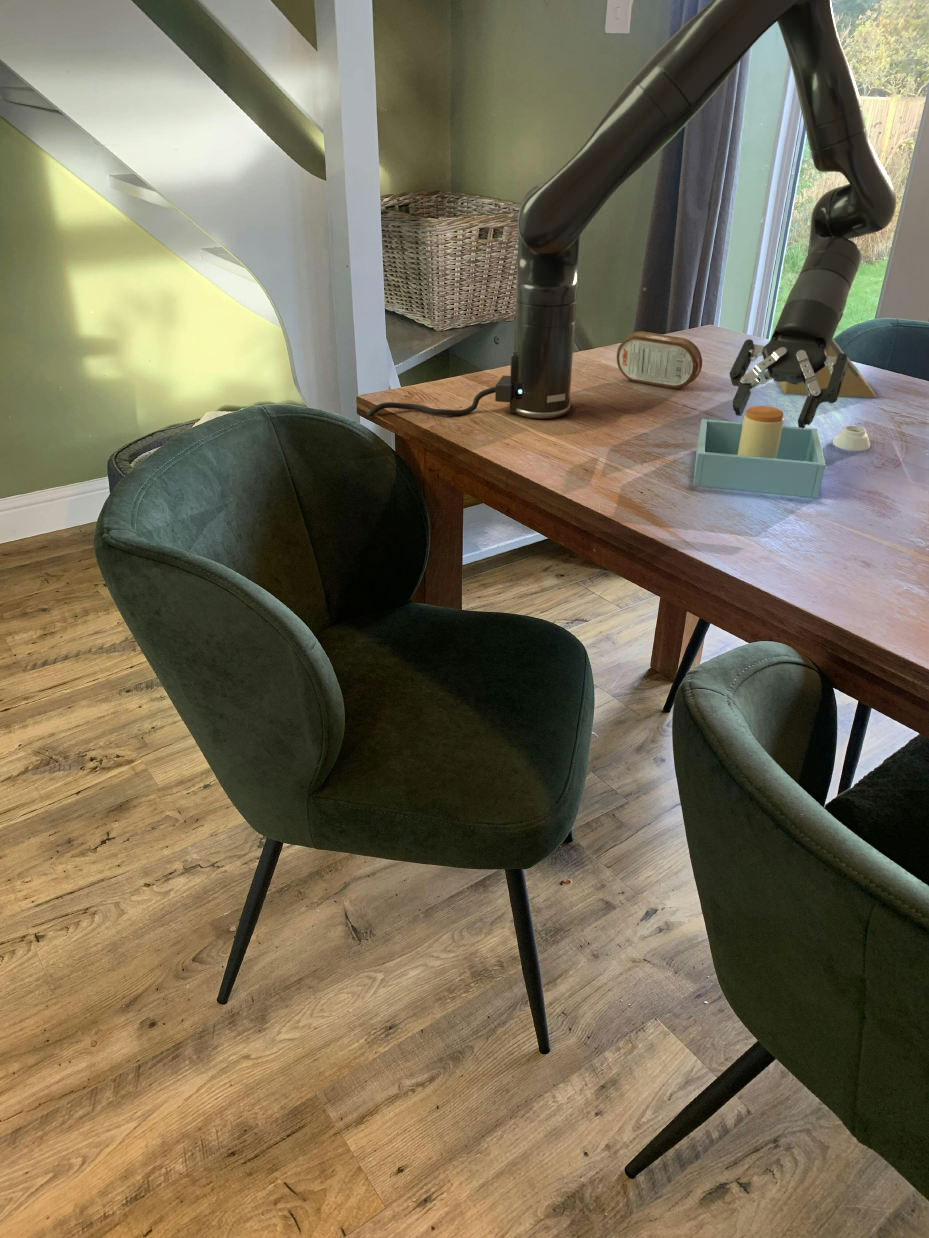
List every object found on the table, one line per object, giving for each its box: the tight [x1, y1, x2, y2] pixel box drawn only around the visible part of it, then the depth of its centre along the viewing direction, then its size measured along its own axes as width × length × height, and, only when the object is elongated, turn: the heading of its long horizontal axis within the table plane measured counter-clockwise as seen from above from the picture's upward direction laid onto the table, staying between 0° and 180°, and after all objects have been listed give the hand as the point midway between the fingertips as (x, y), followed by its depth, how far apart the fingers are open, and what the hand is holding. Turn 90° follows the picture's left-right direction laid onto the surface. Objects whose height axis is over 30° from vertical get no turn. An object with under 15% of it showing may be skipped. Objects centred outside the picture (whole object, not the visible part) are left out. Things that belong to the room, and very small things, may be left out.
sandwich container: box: [778, 337, 878, 399], centre depth 148 cm, size 9×15×15 cm, turn 82°
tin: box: [616, 330, 703, 390], centre depth 152 cm, size 15×3×8 cm, turn 58°
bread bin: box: [692, 418, 826, 499], centre depth 118 cm, size 16×14×5 cm
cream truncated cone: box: [832, 424, 871, 452], centre depth 127 cm, size 5×3×5 cm
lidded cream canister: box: [738, 405, 785, 458], centre depth 117 cm, size 5×5×8 cm
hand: (768, 419), depth 117 cm, fingers open, 8 cm apart
